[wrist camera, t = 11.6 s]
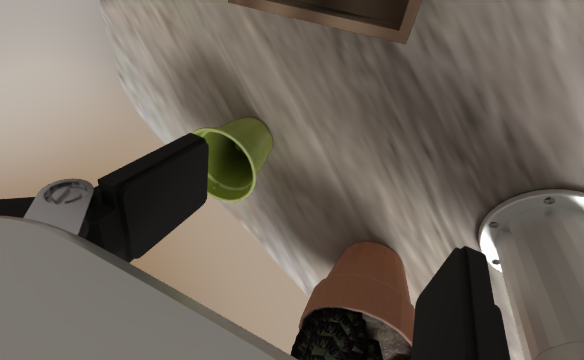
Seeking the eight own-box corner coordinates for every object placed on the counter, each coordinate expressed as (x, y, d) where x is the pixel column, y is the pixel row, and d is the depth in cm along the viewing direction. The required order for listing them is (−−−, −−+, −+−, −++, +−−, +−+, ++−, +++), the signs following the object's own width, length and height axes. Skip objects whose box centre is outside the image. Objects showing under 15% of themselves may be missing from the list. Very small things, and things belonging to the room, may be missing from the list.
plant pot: (222, 95, 39) (178, 118, 32) (289, 114, 37) (257, 143, 30) (223, 157, 44) (185, 187, 37) (281, 176, 42) (252, 212, 35)
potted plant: (443, 257, 39) (458, 529, 19) (393, 308, 47) (369, 536, 28) (347, 211, 41) (272, 417, 21) (315, 268, 49) (240, 454, 29)
